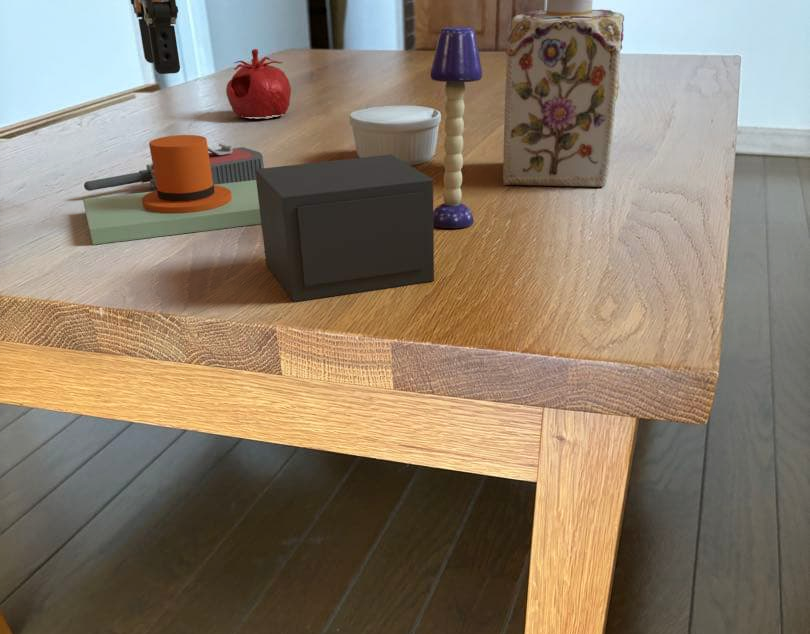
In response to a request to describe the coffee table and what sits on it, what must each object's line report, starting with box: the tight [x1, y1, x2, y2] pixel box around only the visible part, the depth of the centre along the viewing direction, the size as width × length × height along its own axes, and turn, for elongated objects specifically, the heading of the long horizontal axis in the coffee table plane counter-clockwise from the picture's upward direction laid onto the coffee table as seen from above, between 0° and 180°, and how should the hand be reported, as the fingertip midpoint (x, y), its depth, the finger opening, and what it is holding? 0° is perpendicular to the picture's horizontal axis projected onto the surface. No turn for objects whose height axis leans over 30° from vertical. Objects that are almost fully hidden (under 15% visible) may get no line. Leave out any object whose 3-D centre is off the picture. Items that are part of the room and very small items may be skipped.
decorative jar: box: [502, 0, 625, 188], centre depth 96 cm, size 12×12×18 cm
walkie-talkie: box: [83, 142, 265, 192], centre depth 100 cm, size 9×4×20 cm
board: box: [82, 180, 261, 246], centre depth 91 cm, size 20×12×2 cm, turn 110°
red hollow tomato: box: [225, 48, 292, 117], centre depth 135 cm, size 10×10×9 cm
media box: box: [255, 155, 435, 303], centre depth 73 cm, size 12×10×8 cm
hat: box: [142, 134, 232, 213], centre depth 89 cm, size 9×9×6 cm
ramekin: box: [349, 105, 442, 167], centre depth 109 cm, size 11×11×5 cm
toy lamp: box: [430, 26, 483, 229], centre depth 82 cm, size 5×5×17 cm
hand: (162, 67), depth 83 cm, fingers open, 8 cm apart
